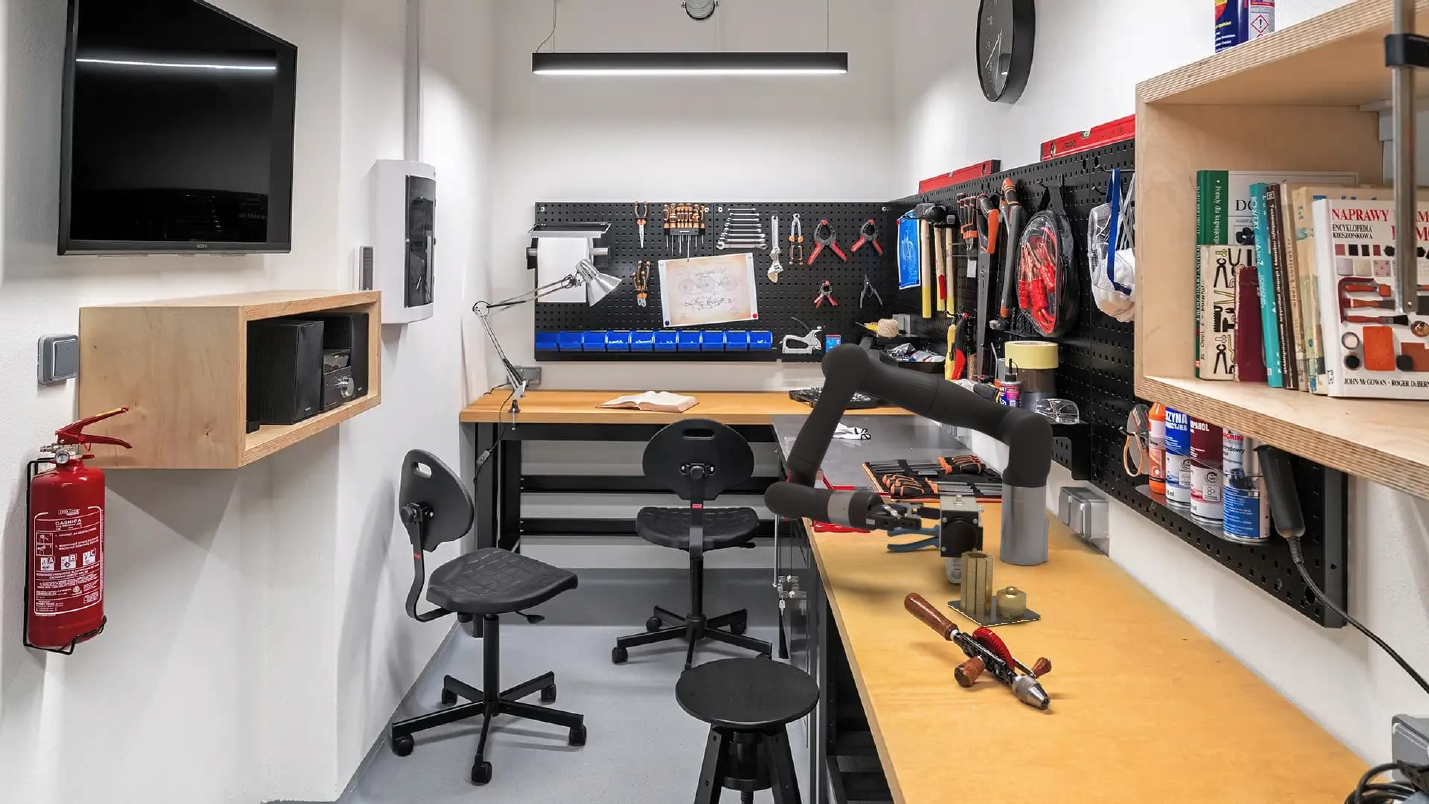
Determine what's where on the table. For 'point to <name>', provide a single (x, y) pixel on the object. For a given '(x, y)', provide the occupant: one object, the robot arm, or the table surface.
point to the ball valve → (959, 531)
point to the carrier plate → (991, 614)
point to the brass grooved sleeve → (976, 581)
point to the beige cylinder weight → (1011, 603)
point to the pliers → (918, 544)
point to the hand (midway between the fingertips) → (930, 519)
